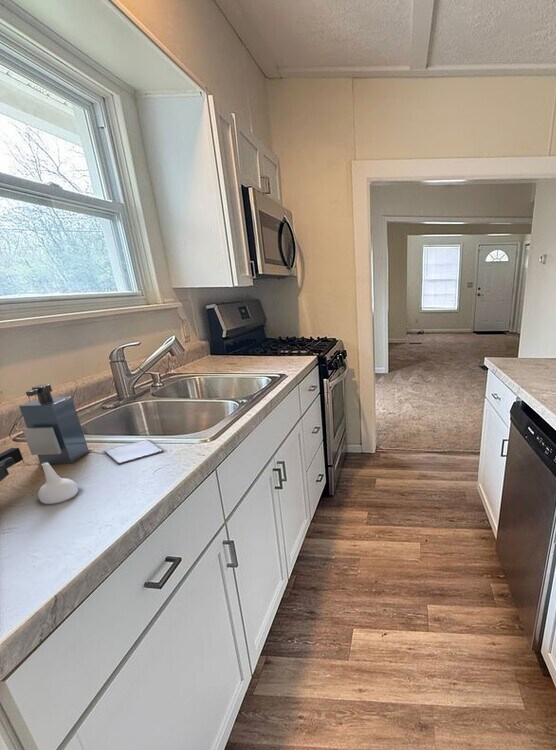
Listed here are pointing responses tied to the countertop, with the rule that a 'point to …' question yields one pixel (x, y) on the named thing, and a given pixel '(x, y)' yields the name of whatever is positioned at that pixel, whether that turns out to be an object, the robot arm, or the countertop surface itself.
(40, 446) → the dispenser paddle
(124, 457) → the flat dark-edged slab
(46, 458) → the soap dispenser
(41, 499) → the garlic bulb
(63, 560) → the countertop surface
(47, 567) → the countertop surface
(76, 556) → the countertop surface
